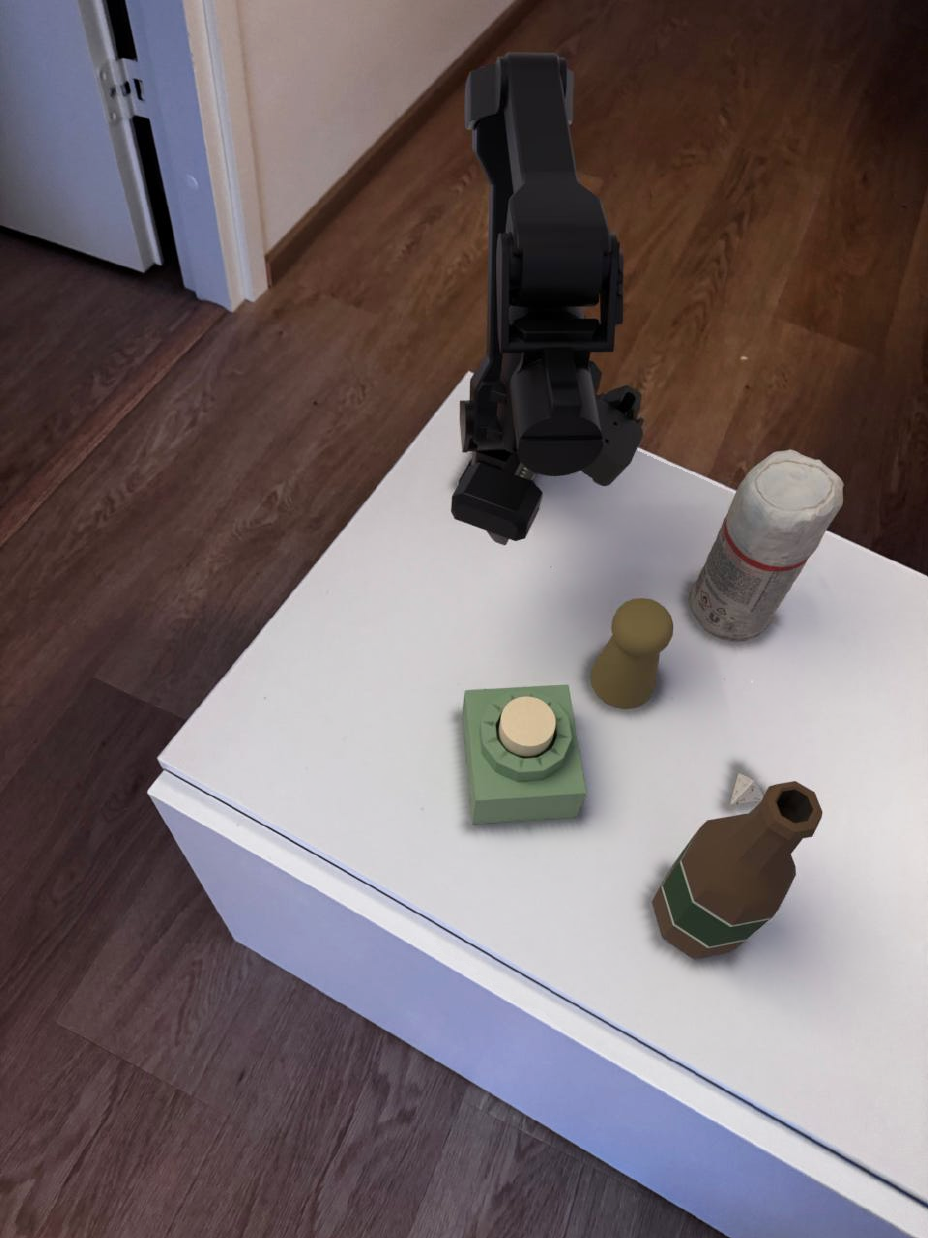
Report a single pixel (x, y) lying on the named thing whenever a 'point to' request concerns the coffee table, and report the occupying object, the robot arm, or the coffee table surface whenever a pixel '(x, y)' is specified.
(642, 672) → the olive game pawn
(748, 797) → the white speckled wedge
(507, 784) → the green button housing
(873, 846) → the coffee table surface
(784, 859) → the beer bottle
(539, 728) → the beige push button
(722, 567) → the spray can
